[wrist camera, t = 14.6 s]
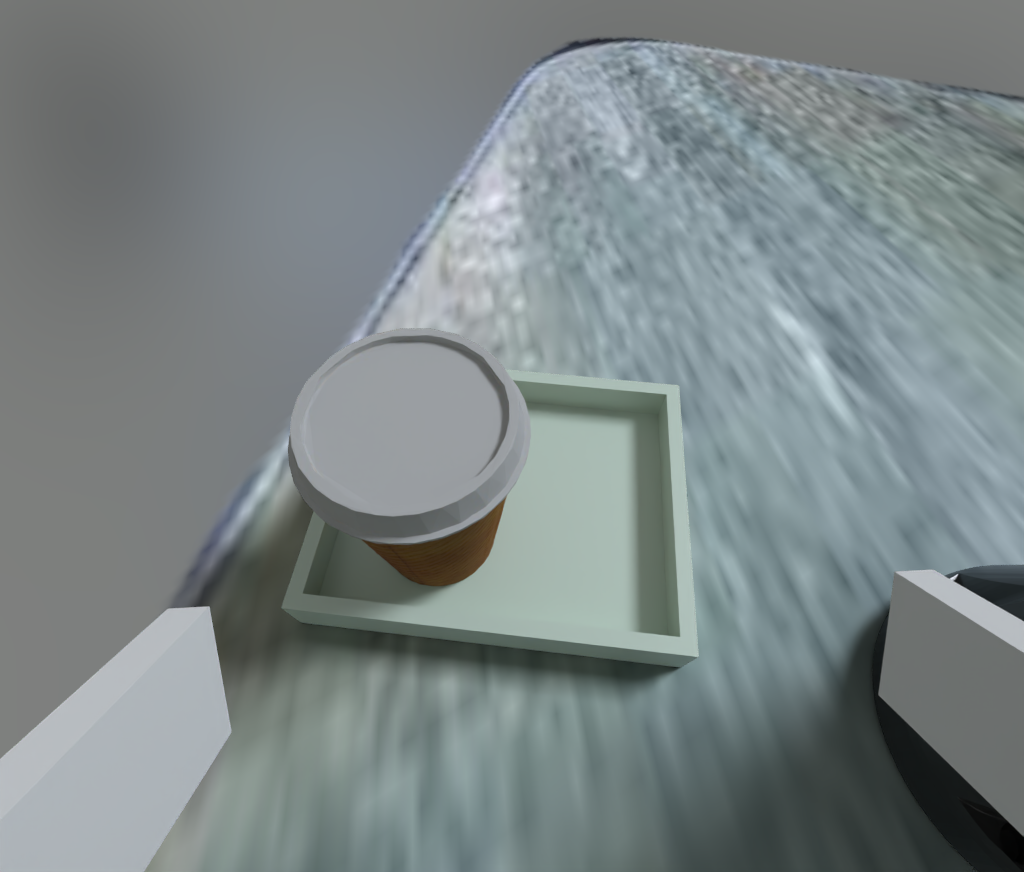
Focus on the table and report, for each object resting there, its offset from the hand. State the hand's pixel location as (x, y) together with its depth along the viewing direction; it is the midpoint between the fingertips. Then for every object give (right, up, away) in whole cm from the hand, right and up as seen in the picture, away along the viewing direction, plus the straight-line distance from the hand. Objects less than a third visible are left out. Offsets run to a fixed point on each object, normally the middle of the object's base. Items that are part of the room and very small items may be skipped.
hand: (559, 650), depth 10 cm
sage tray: (-1, 0, +22) cm, 22 cm away
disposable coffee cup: (-5, -1, +20) cm, 21 cm away
